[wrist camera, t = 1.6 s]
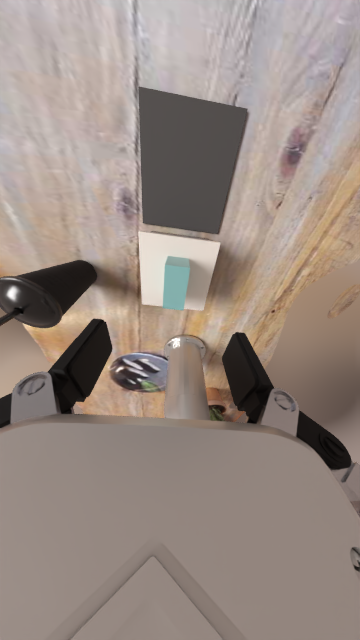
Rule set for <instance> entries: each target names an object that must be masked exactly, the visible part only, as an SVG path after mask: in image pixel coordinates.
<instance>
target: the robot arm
mask: <svg viewBox="0 0 360 640" xmlns="http://www.w3.org/2000/svg"><path fill="white" fill-rule="evenodd" d="M111 352H112V344H111V340H110V336H109V332H108V328H107V324H106V322H104V321H103V320H102V319H93V320H92V321H91V322H90V323H89V324H88V325H87V327H86V328H85V329H84V330H83V331H82V333H81V334H80V335H79V336H78V337H77V338H76V339H75V340H74V341H73V342H72V344H71V345H70V346H69V347H68V348H67V350H66V351H65V352H64V353H63V354H62V355H61V357H60V358H59V359H58V360H57V361H56V363H55V364H54V365H53V366H52V367H51V369H50V370H49V371H48V372H37V373H33V374H31V375H29V376H27V377H25V378H24V379H22V380H21V381H20V382H19V383H18V384H16V386H15V388H14V389H13V392H12V393H11V394H9V395H6V396H4V397H2V398H0V640H360V465H359V464H358V463H357V462H355V463H353V462H352V461H351V457H350V455H349V453H348V451H347V449H346V448H345V446H344V445H343V444H342V443H341V442H340V441H339V440H338V439H337V438H336V437H335V436H334V435H332V434H331V433H330V432H328V431H327V430H326V429H324V428H323V427H321V426H320V425H319V424H317V423H316V422H315V421H313V420H312V419H310V418H309V417H308V416H306V415H305V414H304V413H302V412H301V411H299V406H298V404H297V402H296V400H295V399H294V398H293V397H292V396H291V395H290V394H289V393H288V392H286V391H285V390H283V389H280V388H274V387H273V385H272V383H271V381H270V379H269V377H268V375H267V374H266V372H265V370H264V368H263V366H262V364H261V362H260V360H259V359H258V357H257V355H256V353H255V351H254V350H253V348H252V346H251V344H250V342H249V340H248V338H247V336H246V335H245V333H238V332H236V333H235V334H233V335H232V337H231V339H230V342H229V344H228V346H227V348H226V350H225V352H224V354H223V357H222V361H223V365H224V368H225V372H226V376H227V379H228V383H229V386H230V390H231V393H232V397H233V401H234V404H235V405H236V406H237V407H238V411H245V412H246V415H247V418H246V421H245V423H239V422H226V421H211V420H210V414H209V407H208V400H207V393H206V386H205V379H204V372H203V365H202V358H203V357H204V356H205V353H206V349H205V345H204V343H203V342H202V341H201V340H200V339H198V338H196V337H194V336H189V335H181V336H176V337H174V338H172V339H170V340H169V341H168V342H167V343H166V344H165V347H164V355H165V357H166V358H167V359H168V369H167V380H166V391H165V402H164V416H165V418H153V417H133V416H112V415H87V414H74V410H73V406H74V404H75V403H76V401H77V402H84V401H85V399H86V397H88V396H89V395H90V394H91V392H92V390H93V388H94V386H95V384H96V382H97V380H98V378H99V376H100V374H101V372H102V370H103V368H104V366H105V364H106V362H107V360H108V358H109V356H110V354H111Z"/></svg>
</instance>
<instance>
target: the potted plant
mask: <svg viewBox="0 0 360 640" xmlns="http://www.w3.org/2000/svg"><path fill="white" fill-rule="evenodd" d="M206 393H207V400H208V407H209V414H210V420H211V421H225V420H223V417H222V415H221V414H223V413H225V412H226V410H227V408H226V405H225V403H224V402H223V400H222V398H221V396H220V394H219V392H218V390H217V389H215V388H206Z"/></svg>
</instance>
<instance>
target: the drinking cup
mask: <svg viewBox="0 0 360 640" xmlns="http://www.w3.org/2000/svg"><path fill="white" fill-rule="evenodd" d="M96 278H97V274H96V271H95V269H94V268H93V267H92V266H91V265H90V264H89V263H87V262H85V261H82V260H77V261H73V262H69V263H65V264H61V265H57V266H53V267H50V268H46V269H42V270H38V271H34V272H30V273H26V274H22V275H18V276H4V277H0V308H1V309H2V310H3V311H5V312H6V313H7V314H6V315H4V316H3V317H1V318H0V326H1V325H3V324H4V323H6V322H8V321H9V320H11V319H13V318H15V319H16V320H18V321H20V322H22V323H24V324H27V325H30V326H33V327H38V328H50V327H53V326H55V325H57V324H58V323H59V322H60V321H61V318H62V316H63V315H64V314H65V313H66V312H67V310H68V309H69V308H70V307H71V306H72V305H73V304H74V303H75V302H76V301H77V300H78V299H79V298H80V297H81V295H82V294H83V293H84V292H85V291H86V290H87V289H88V288H89V287H90V286H91V285H92V284H93V283H94V282H95V280H96Z"/></svg>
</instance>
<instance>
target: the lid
mask: <svg viewBox="0 0 360 640" xmlns="http://www.w3.org/2000/svg"><path fill="white" fill-rule="evenodd" d="M138 233H139V253H140V274H141V294H142V304H145V305H154V306H163V308H166V309H176V310H184V309H192V310H201V311H203V309H204V306H205V302H206V298H207V294H208V290H209V286H210V282H211V279H212V275H213V271H214V267H215V263H216V259H217V255H218V252H219V248H220V244H221V243H220V242H217V241H210V240H202V239H195V238H188V237H181V236H174V235H166V234H159V233H152V232H145V231H138Z"/></svg>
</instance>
